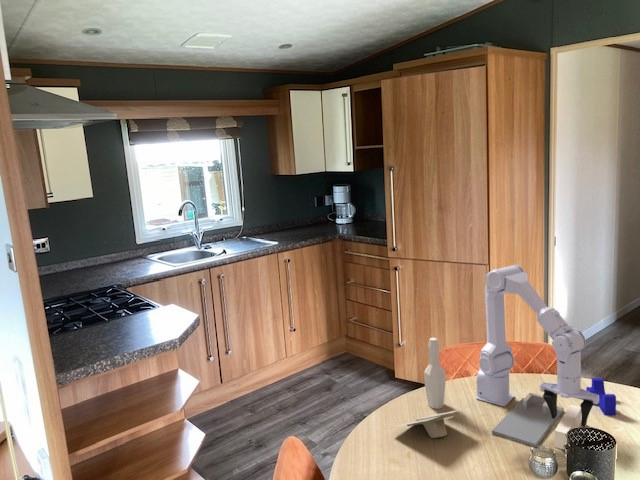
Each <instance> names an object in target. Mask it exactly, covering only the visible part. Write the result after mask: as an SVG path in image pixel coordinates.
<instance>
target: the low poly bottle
mask: <svg viewBox="0 0 640 480" xmlns="http://www.w3.org/2000/svg"><path fill="white" fill-rule="evenodd" d="M427 349H428V359H429V362H428V363H429V364H428V365H427V367H426V369H425V370H424V372H423V375H424V376H423V377H424V387H425V393H426V399H427V404H428V405H427V406H428V407H430V408H432V409H438V410H439V409H441V408H443V407H444V403H445V393H446V380H447V379H446V370H445V368H444V367H443V366H442V365H441V364H440V355H439V353H440V342H439V340H438V338H436V337H430V338H429V340H428V344H427Z"/></svg>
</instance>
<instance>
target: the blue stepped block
mask: <svg viewBox="0 0 640 480" xmlns="http://www.w3.org/2000/svg"><path fill="white" fill-rule="evenodd" d="M585 390H586V391H589V392H591V393H594V394H597V395H599V403H598V404H594V405H593V406H598V408H599V409H600V410H601V413H603V415H604V416H616V414H617V396H616V394H614V393H606V389H605V380H604V379H603V377H602V378H599V377H591V386H586V389H585Z"/></svg>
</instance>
